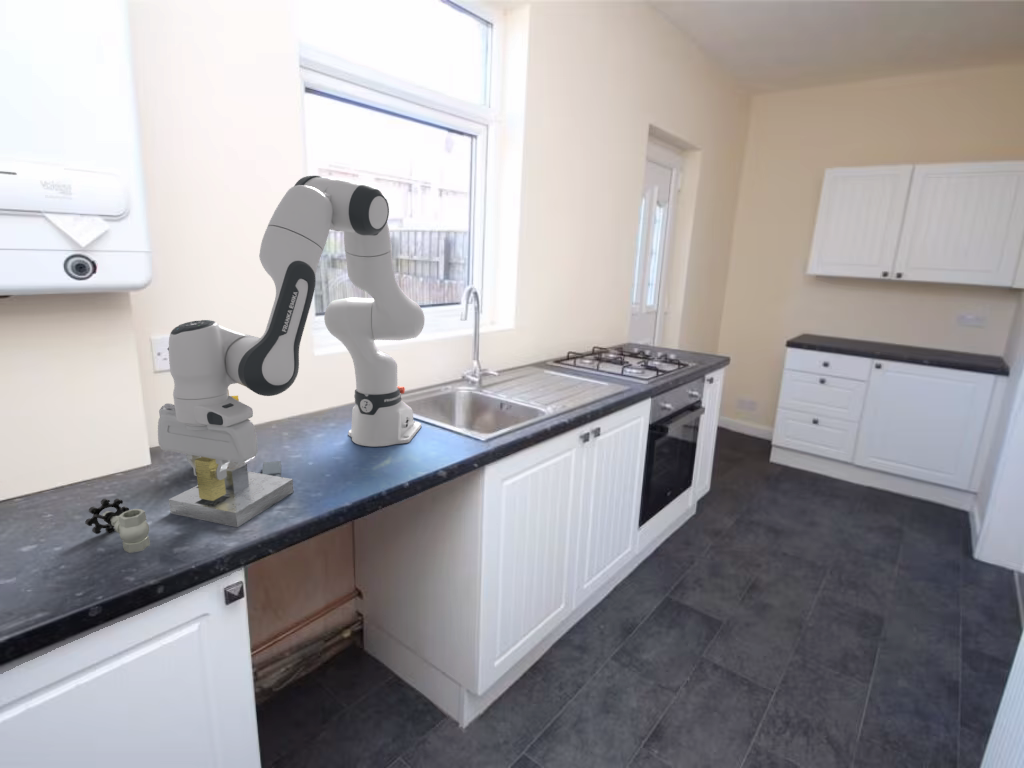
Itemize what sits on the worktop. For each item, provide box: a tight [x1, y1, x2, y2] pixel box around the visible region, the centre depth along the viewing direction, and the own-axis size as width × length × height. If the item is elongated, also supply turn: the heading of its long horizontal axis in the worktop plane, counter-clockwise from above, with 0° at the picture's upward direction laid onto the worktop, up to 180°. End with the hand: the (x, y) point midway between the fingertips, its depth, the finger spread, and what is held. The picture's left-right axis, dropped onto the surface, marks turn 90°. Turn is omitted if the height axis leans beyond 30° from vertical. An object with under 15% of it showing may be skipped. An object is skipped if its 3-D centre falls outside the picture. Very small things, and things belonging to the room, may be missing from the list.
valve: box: [84, 498, 151, 554], centre depth 93 cm, size 7×7×12 cm
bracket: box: [261, 460, 282, 477], centre depth 122 cm, size 4×10×2 cm, turn 23°
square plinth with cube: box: [168, 462, 294, 528], centre depth 108 cm, size 16×16×8 cm
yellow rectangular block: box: [195, 457, 226, 501], centre depth 102 cm, size 3×3×8 cm
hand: (210, 476), depth 102 cm, fingers closed on yellow rectangular block, 3 cm apart
